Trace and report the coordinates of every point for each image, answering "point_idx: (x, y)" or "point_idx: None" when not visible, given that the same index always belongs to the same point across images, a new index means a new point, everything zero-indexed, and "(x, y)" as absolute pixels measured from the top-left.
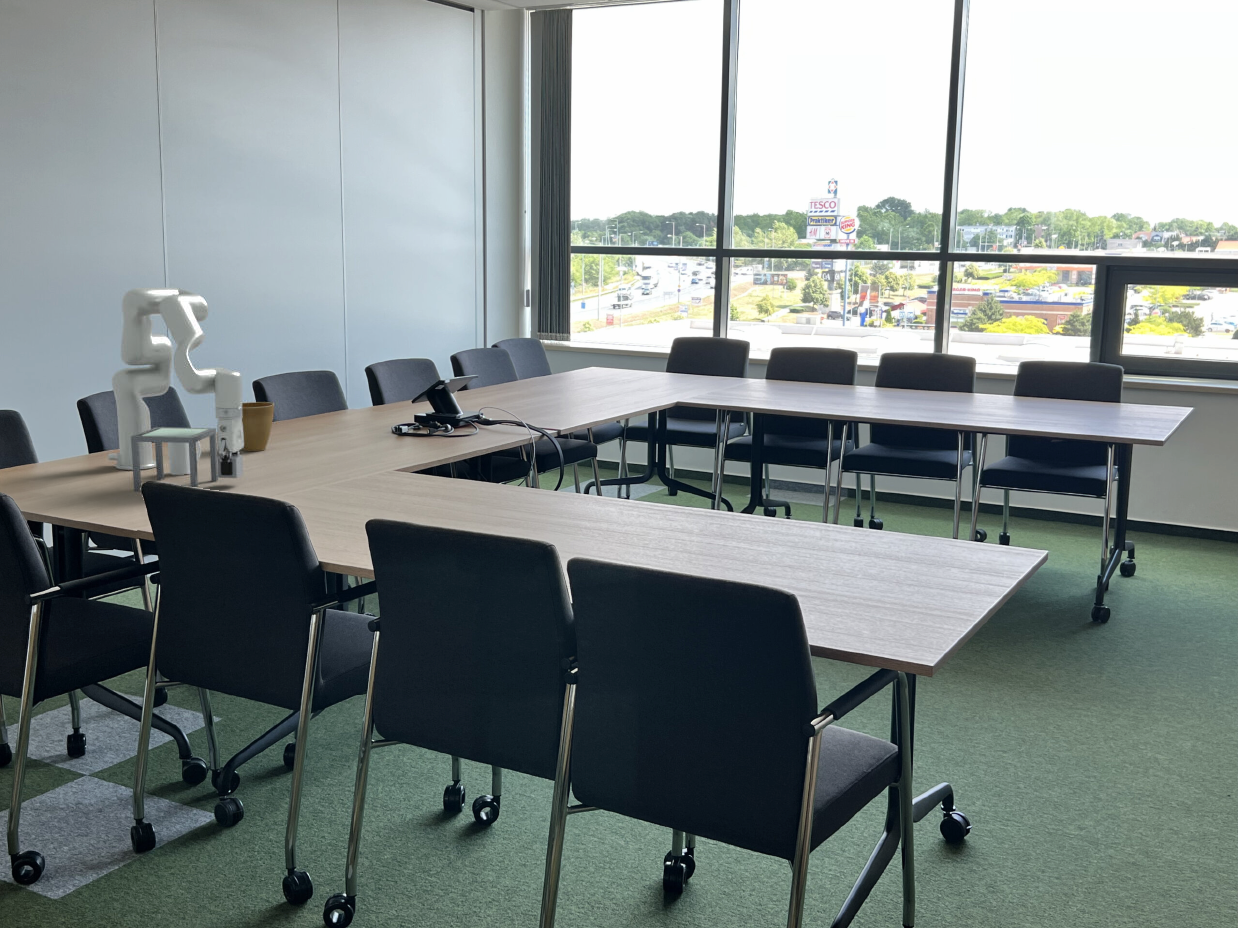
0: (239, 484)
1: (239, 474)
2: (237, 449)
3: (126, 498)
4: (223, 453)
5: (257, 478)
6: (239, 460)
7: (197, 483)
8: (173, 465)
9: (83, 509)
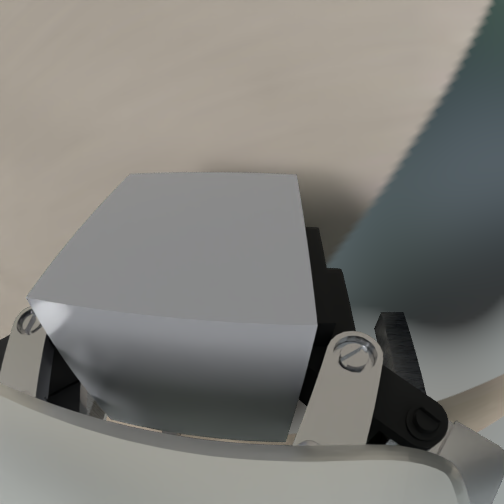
0: (172, 166)
1: (215, 179)
2: (222, 481)
3: None
4: (488, 456)
5: (10, 139)
6: (161, 269)
7: (393, 344)
8: (105, 419)
9: (492, 410)
